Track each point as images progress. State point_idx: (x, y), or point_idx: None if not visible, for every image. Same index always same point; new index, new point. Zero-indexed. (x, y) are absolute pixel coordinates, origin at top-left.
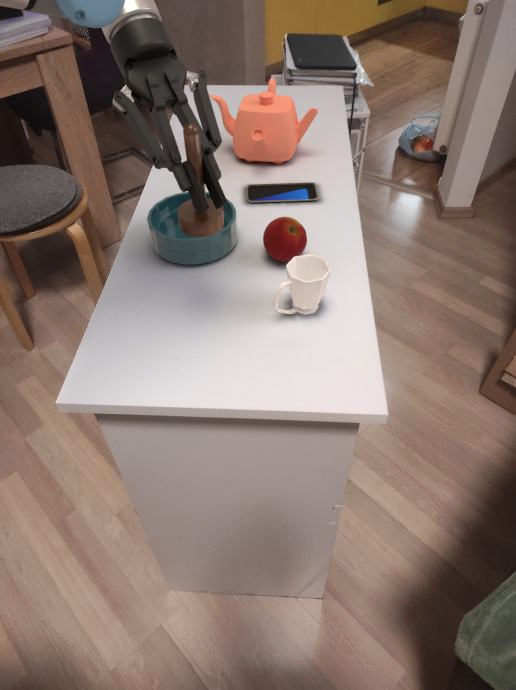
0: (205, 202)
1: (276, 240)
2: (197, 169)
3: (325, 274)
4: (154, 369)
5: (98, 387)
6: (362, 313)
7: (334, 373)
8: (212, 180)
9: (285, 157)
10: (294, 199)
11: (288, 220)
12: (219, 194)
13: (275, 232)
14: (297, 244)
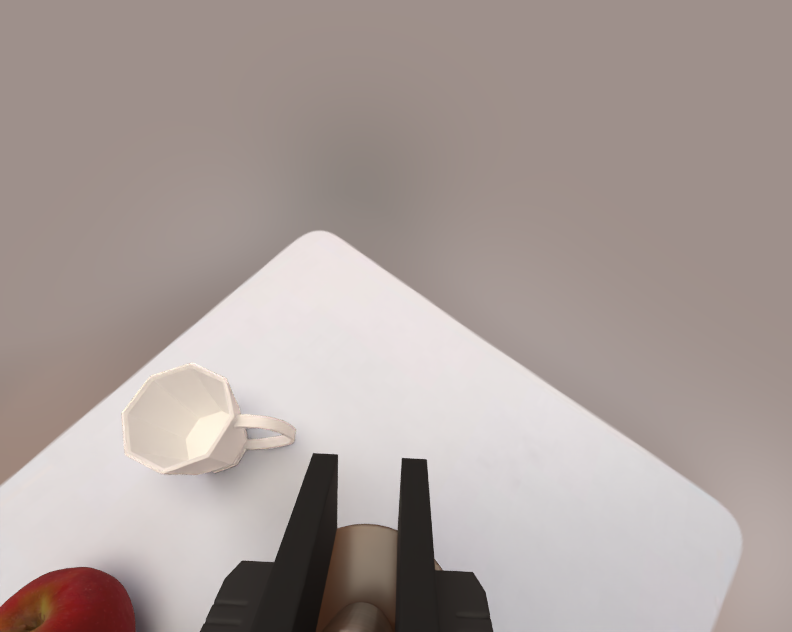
0: (408, 476)
1: (101, 625)
2: (358, 630)
3: (158, 397)
4: (567, 485)
5: (681, 513)
6: (164, 360)
7: (314, 296)
8: (317, 534)
9: None
10: None
11: None
12: (326, 480)
13: None
14: (75, 571)
